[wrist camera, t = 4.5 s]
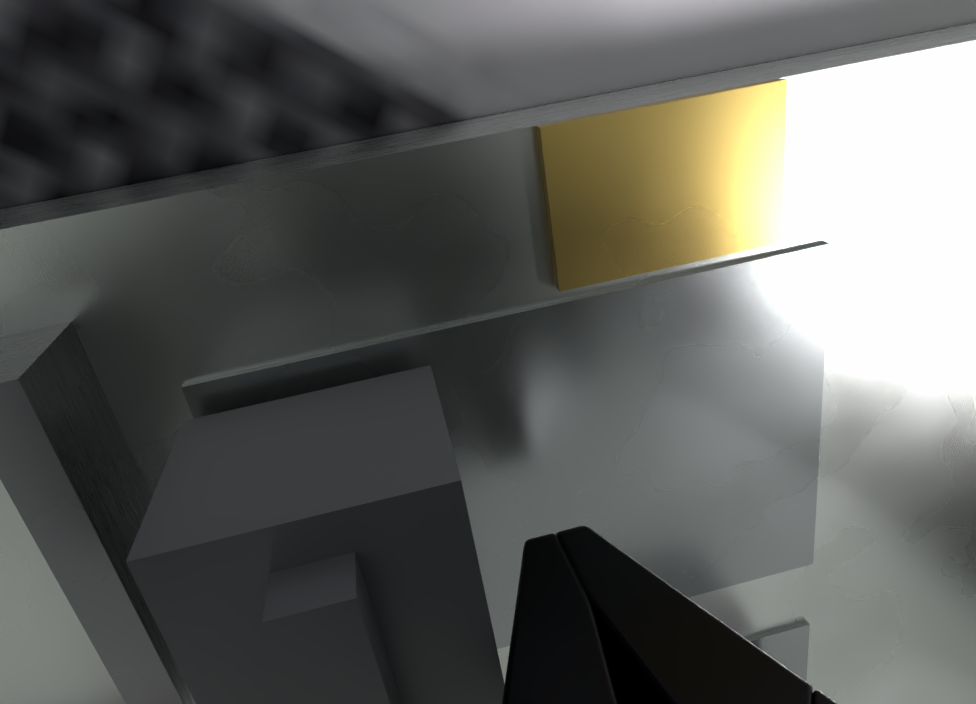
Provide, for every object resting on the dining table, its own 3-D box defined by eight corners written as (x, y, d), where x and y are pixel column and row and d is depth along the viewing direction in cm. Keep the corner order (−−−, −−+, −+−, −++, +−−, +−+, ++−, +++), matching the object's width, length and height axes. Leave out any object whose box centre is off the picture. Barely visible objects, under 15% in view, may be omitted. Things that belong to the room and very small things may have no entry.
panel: (1190, -19, 11) (1479, -37, 8) (1013, 704, 18) (1135, 826, 15) (-628, 329, 8) (-1105, 476, 5) (1, 1008, 15) (-72, 1219, 12)
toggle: (430, 365, 9) (472, 520, 6) (492, 651, 11) (543, 864, 8) (182, 421, 8) (106, 613, 6) (298, 704, 11) (281, 943, 8)
